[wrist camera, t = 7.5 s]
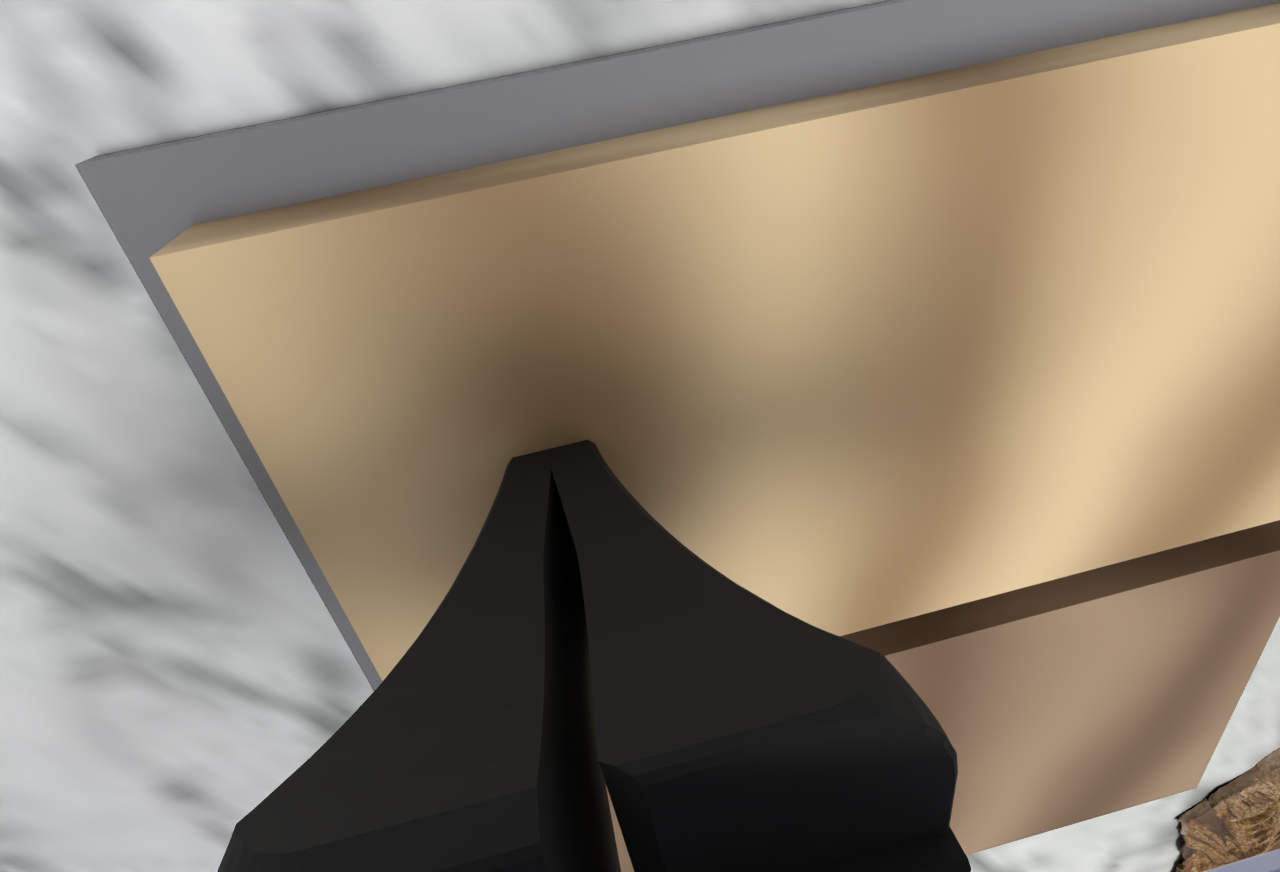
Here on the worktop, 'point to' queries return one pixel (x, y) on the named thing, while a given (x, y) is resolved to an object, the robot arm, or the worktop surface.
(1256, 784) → the wooden fragment
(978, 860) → the worktop surface
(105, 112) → the worktop surface
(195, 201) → the underlay mat
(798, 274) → the oak plank
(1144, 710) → the walnut floorboard
